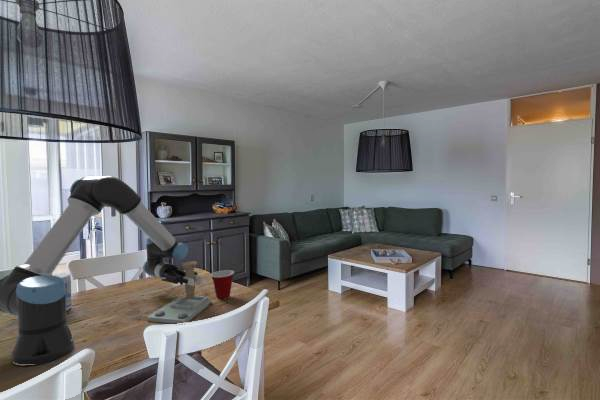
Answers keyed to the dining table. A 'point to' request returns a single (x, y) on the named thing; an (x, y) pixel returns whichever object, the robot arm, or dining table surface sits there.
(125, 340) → the dining table surface
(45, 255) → the robot arm
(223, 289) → the plastic cup
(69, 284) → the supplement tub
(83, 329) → the dining table surface
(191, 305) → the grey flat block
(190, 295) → the handle
